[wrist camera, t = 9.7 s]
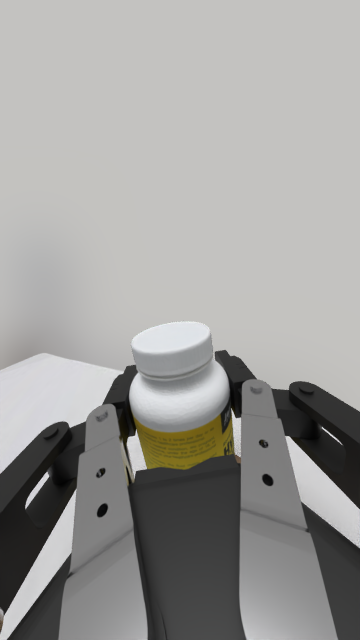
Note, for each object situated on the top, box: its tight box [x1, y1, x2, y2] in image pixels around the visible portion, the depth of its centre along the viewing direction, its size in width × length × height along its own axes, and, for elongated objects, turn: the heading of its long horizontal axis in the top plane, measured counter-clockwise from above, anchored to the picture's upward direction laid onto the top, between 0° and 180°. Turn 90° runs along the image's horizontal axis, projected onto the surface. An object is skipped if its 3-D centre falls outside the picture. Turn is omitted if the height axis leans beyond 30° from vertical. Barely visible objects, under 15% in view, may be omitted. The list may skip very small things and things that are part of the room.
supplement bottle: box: [129, 321, 235, 470], centre depth 10 cm, size 5×5×10 cm
